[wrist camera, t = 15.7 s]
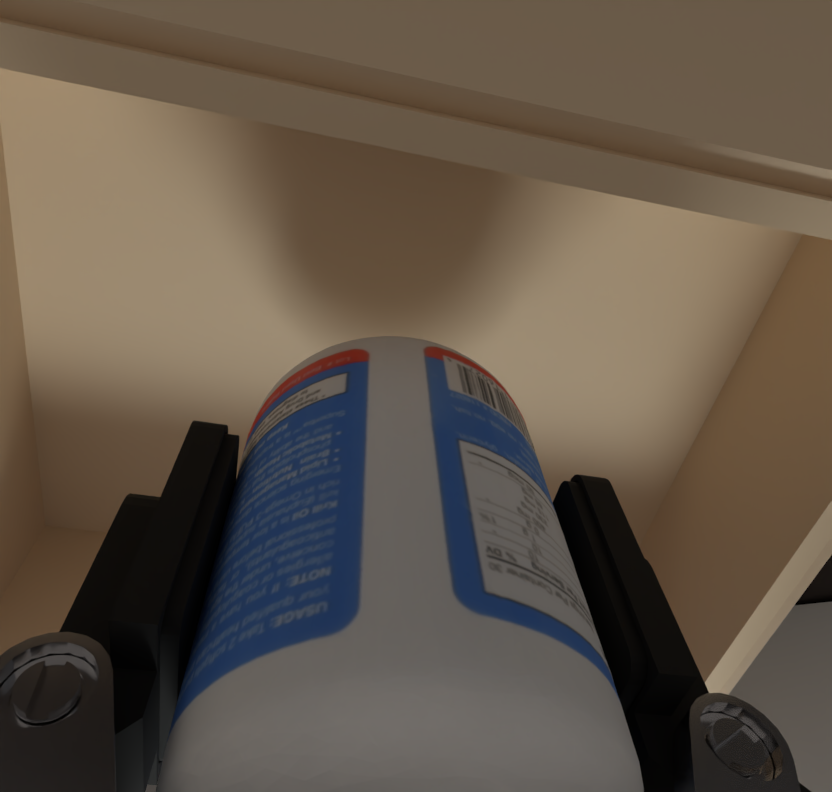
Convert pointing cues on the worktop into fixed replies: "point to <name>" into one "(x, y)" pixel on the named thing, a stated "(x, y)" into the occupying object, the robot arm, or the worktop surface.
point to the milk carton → (798, 690)
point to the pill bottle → (394, 599)
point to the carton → (428, 258)
